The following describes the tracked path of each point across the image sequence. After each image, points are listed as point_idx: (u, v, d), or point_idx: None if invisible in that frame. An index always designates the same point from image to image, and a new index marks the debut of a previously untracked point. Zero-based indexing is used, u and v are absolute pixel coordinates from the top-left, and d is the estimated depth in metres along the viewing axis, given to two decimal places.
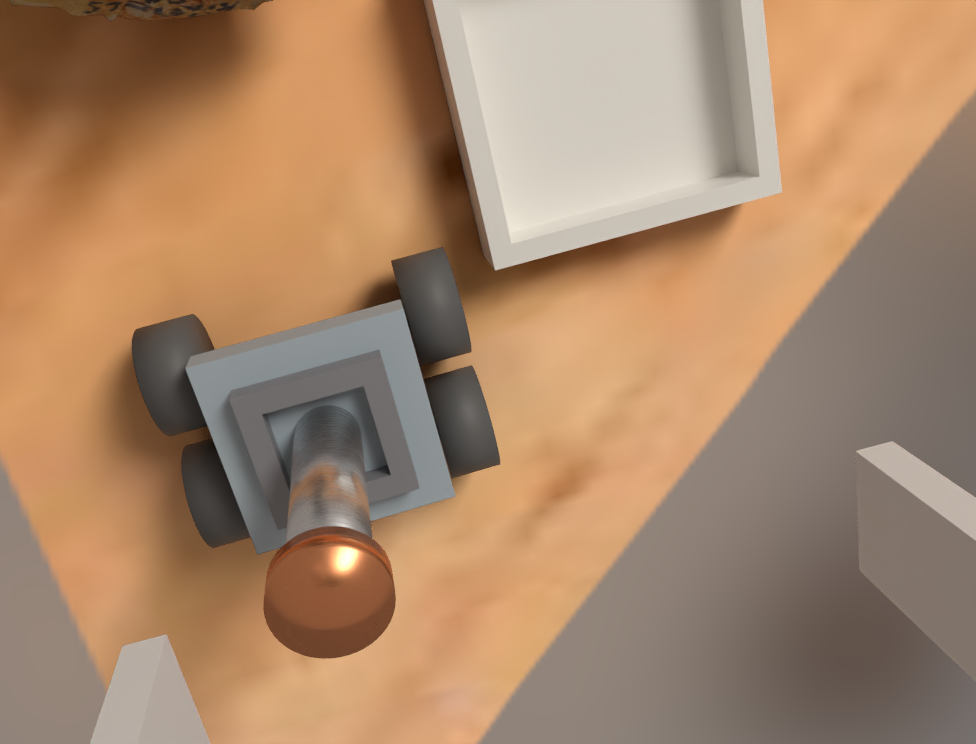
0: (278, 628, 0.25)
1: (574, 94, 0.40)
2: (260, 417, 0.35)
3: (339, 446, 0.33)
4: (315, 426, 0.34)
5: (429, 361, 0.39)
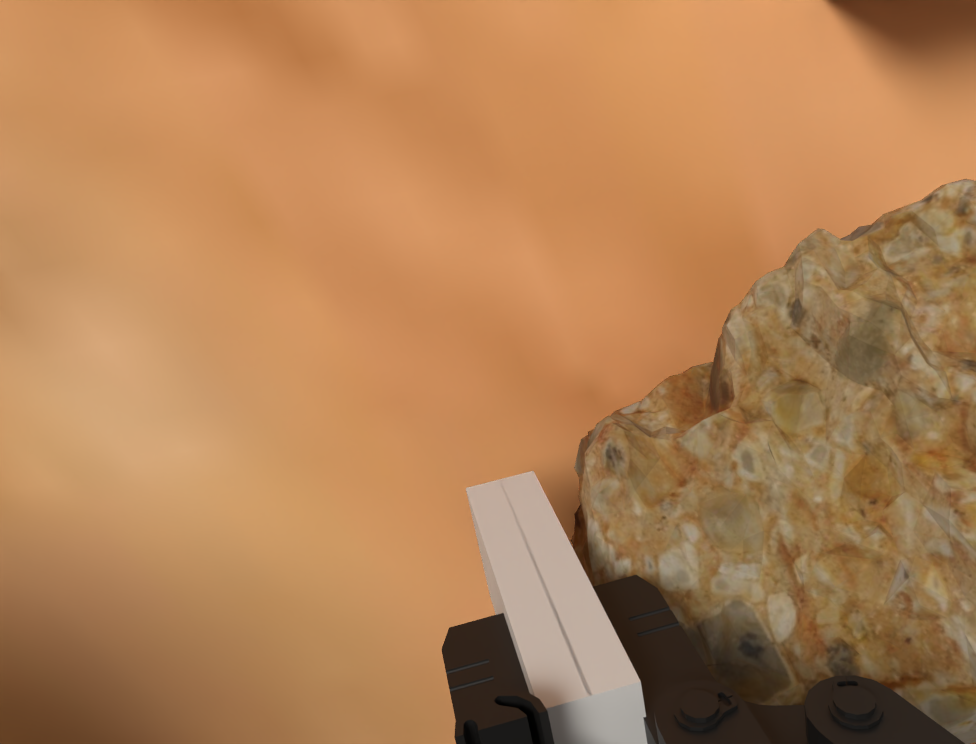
0: None
1: None
2: None
3: None
4: None
5: None
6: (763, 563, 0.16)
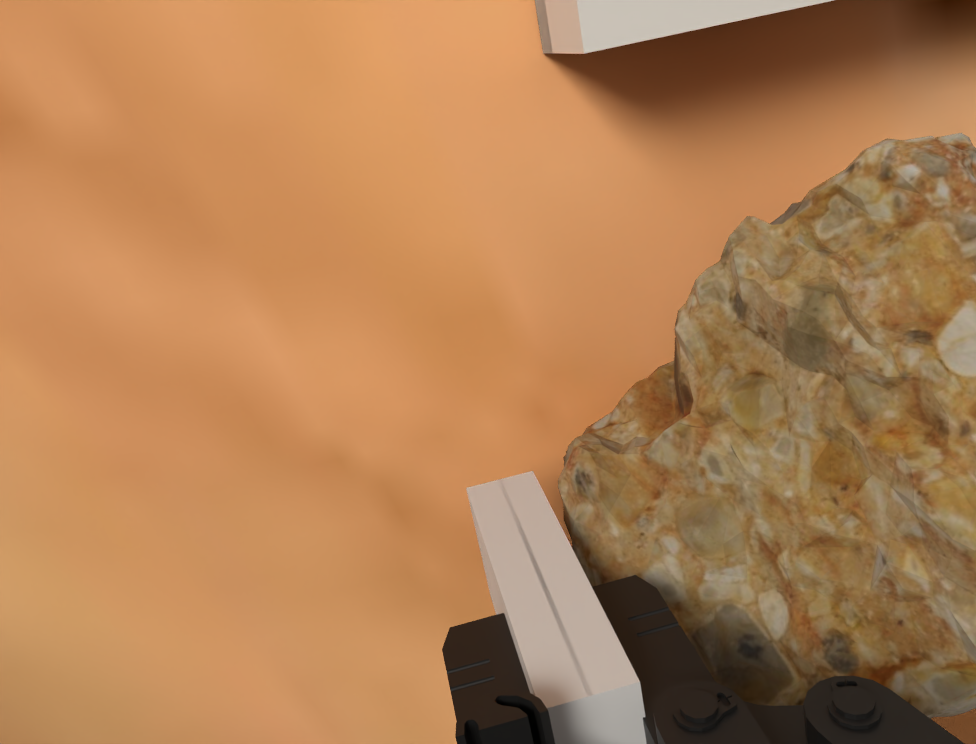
0: None
1: None
2: None
3: None
4: None
5: None
6: (748, 562, 0.16)
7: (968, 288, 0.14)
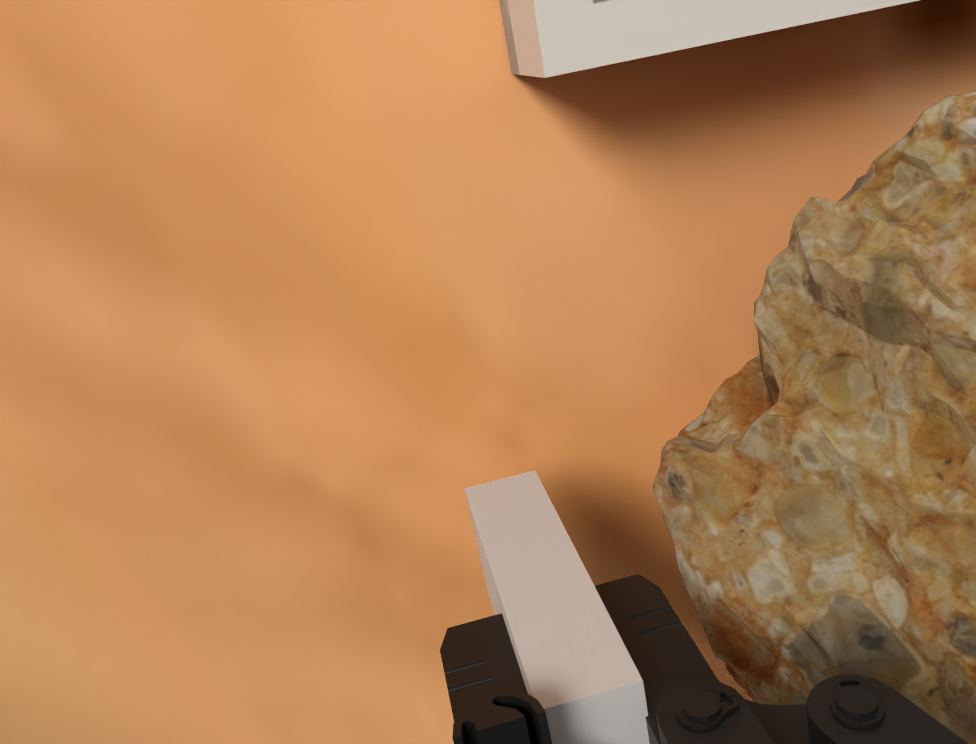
0: None
1: None
2: None
3: None
4: None
5: None
6: (858, 550, 0.15)
7: None
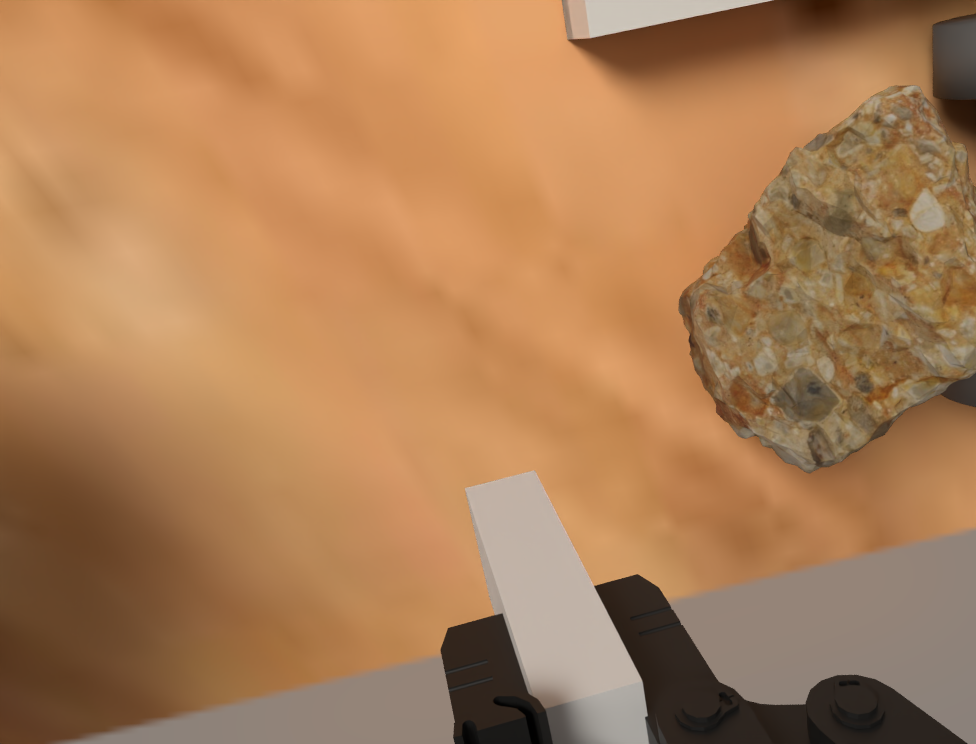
0: None
1: None
2: None
3: None
4: None
5: None
6: (809, 344, 0.29)
7: (923, 181, 0.26)
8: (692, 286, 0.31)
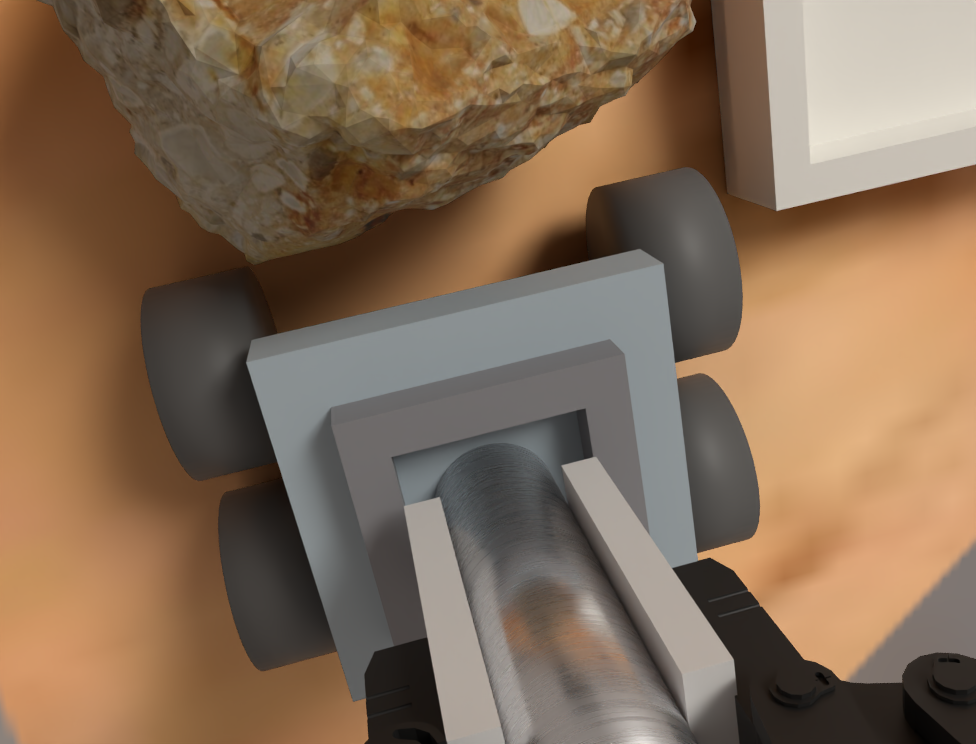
0: None
1: None
2: (387, 461, 0.18)
3: (567, 540, 0.16)
4: (497, 486, 0.18)
5: None
6: None
7: (585, 14, 0.16)
8: None
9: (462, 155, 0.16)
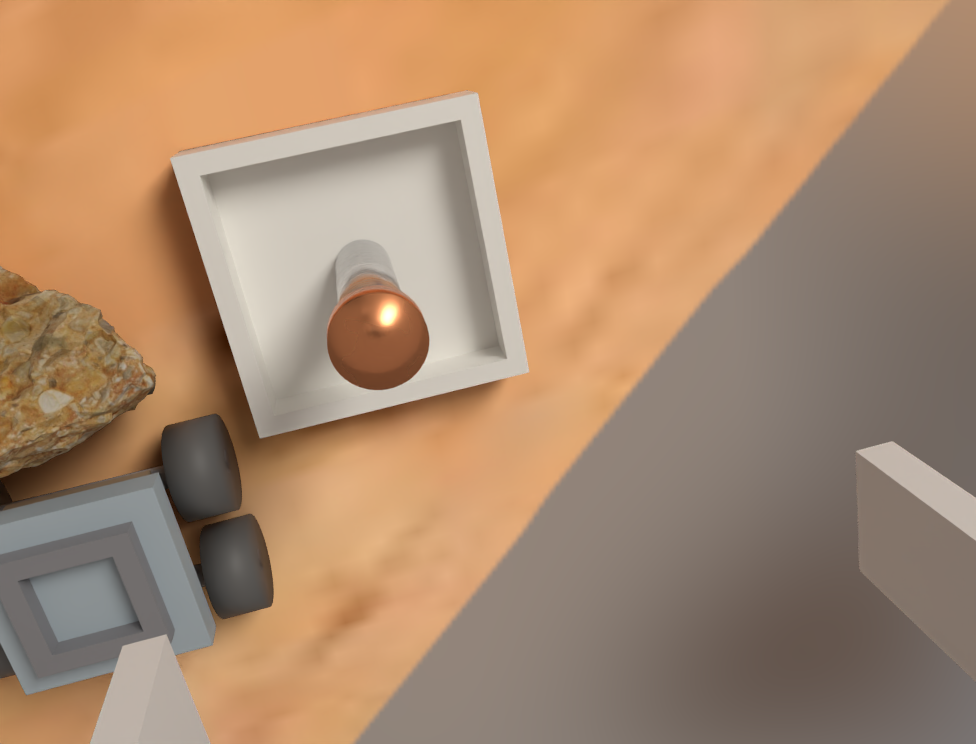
0: (336, 358, 0.32)
1: None
2: (15, 583, 0.39)
3: (378, 259, 0.40)
4: (356, 248, 0.41)
5: (196, 519, 0.43)
6: None
7: (79, 396, 0.37)
8: None
9: (24, 458, 0.36)
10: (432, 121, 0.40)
